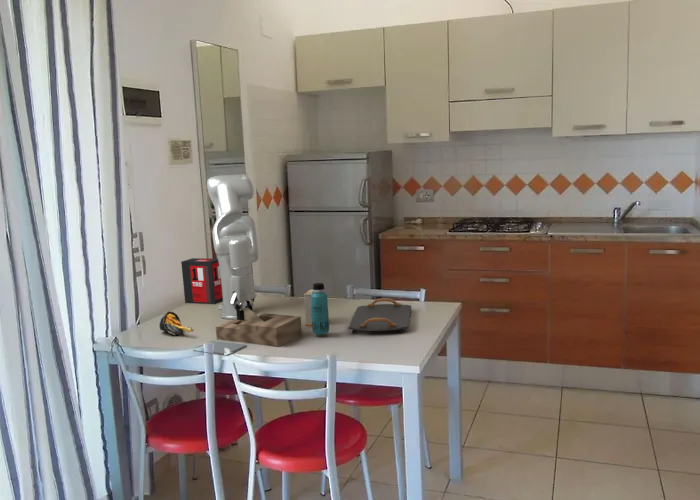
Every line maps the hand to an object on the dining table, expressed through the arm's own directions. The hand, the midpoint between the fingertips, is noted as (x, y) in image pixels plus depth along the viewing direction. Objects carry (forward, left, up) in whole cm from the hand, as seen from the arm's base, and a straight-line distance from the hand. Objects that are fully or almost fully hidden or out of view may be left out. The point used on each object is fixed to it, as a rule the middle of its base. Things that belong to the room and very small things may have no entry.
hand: (245, 317), depth 249 cm
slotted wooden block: (+6, 0, -7) cm, 9 cm away
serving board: (+41, +34, -8) cm, 54 cm away
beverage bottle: (+28, +9, -7) cm, 30 cm away
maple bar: (+3, 0, -3) cm, 4 cm away
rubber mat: (+1, -17, -7) cm, 19 cm away
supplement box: (+16, +23, -7) cm, 29 cm away
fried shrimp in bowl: (-28, -8, -7) cm, 30 cm away
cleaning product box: (-56, +40, -7) cm, 69 cm away
